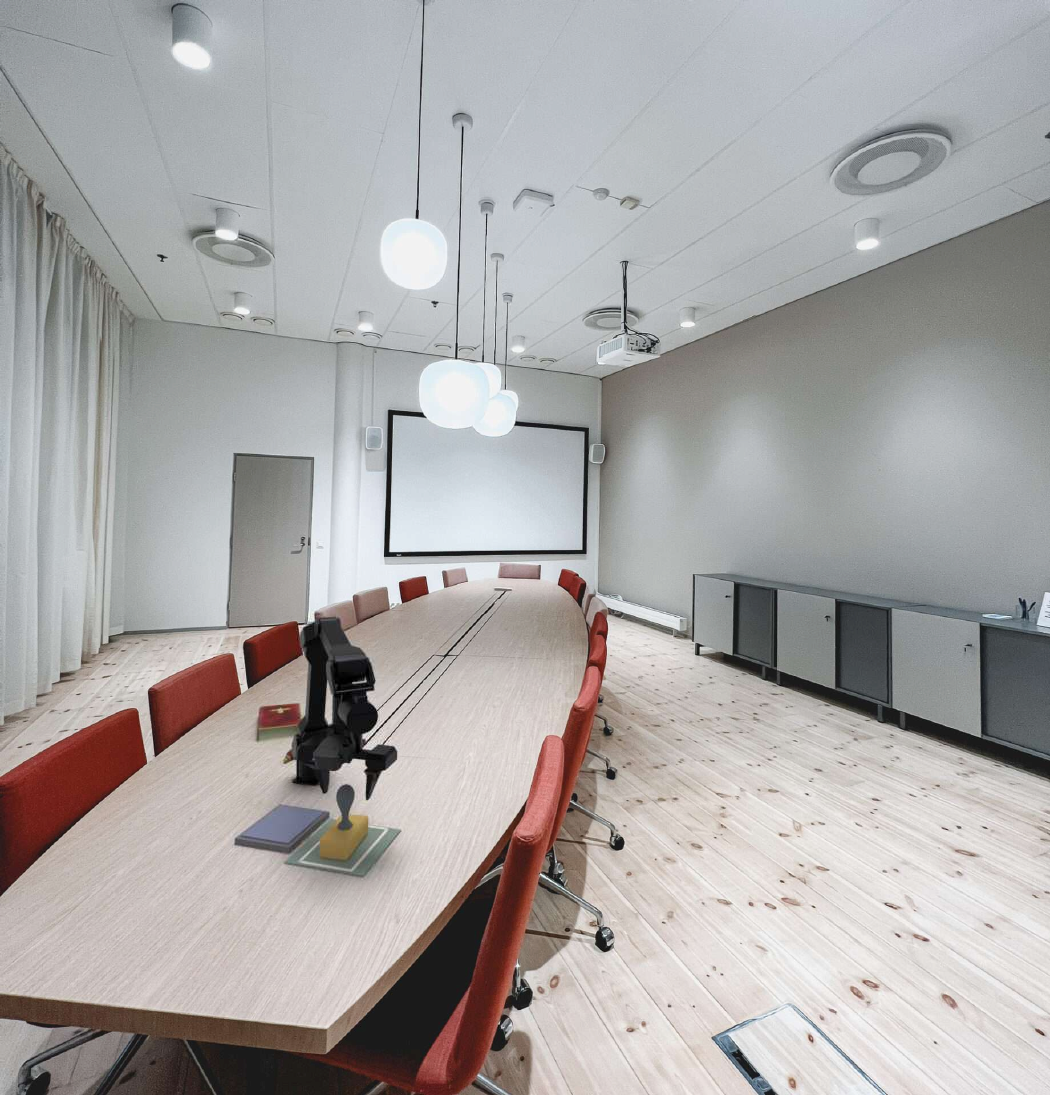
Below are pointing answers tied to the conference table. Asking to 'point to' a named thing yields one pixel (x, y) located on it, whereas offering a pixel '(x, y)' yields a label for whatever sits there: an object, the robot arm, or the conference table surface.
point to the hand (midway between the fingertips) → (346, 796)
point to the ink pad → (282, 828)
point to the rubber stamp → (344, 828)
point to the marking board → (358, 860)
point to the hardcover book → (278, 721)
